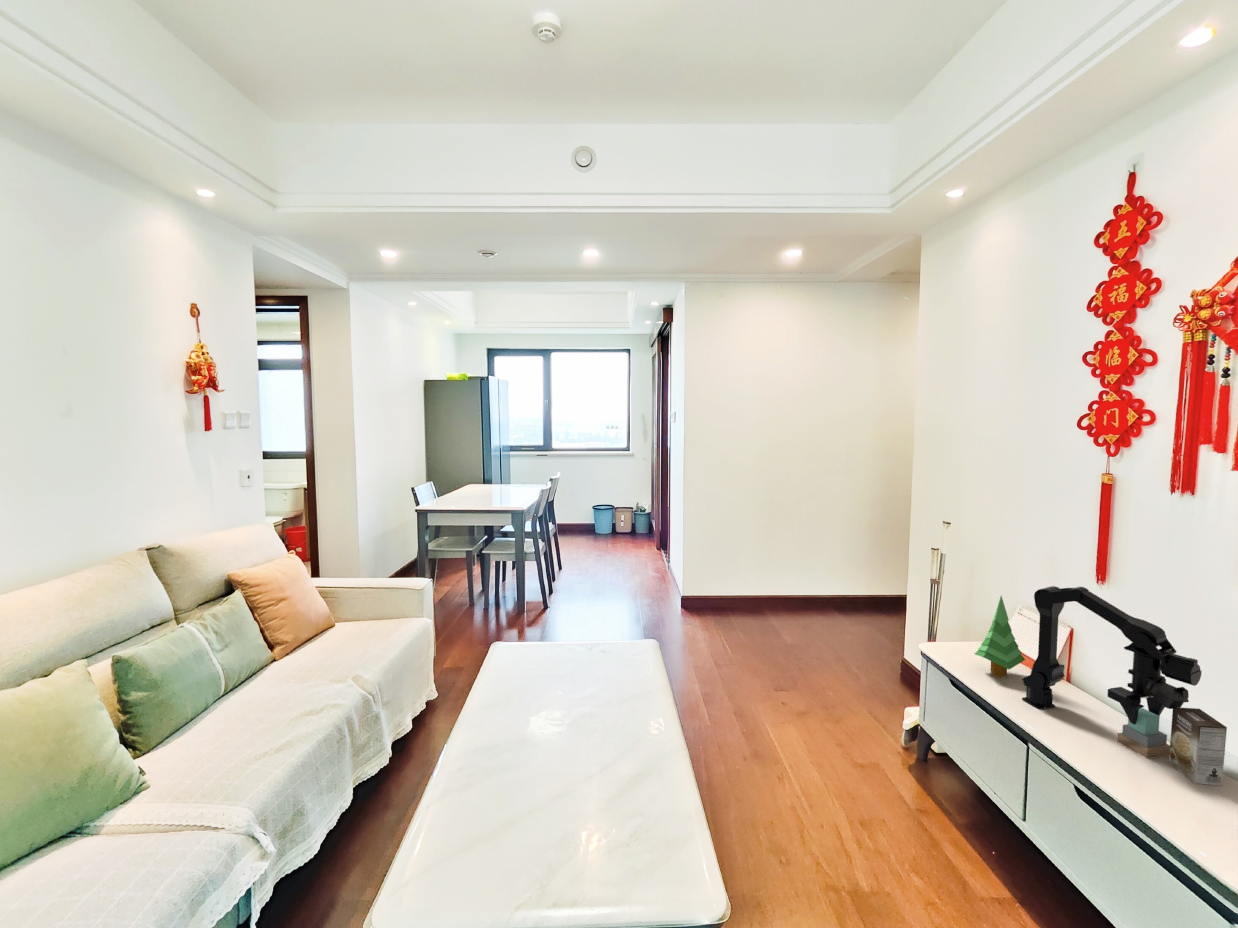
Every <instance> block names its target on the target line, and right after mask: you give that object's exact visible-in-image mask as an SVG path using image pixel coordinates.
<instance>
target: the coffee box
mask: <svg viewBox="0 0 1238 928" xmlns="http://www.w3.org/2000/svg"><path fill="white" fill-rule="evenodd" d="M1170 729H1171V731H1170V744H1169V745H1170V755H1168V758H1169V760H1168V762H1169V763H1170V764H1171V765H1172V766H1174V767H1175V768H1176V769H1177V770H1178V771H1179V772H1180V773H1182V774H1183V775H1184V776H1185V777H1186V778H1188V779H1189V780H1190V781H1191V782H1193V783H1194V784H1196V785H1198V784H1199V785H1210V786H1222V785H1223V777H1224V776H1223V775H1224V766H1225V755H1226V753H1225V752H1226V743H1227V742H1226V741H1227V733H1228V732H1227V731H1228V730H1227V729H1228V727H1227V726H1226V725H1224V724H1222V723H1221V722H1220V721H1218V720H1217V719H1215V718H1214V717H1213V716H1211V715H1209V714H1208V713H1206V712H1205V711H1204V710H1202V709H1201V708H1193V707H1191V708H1190V707H1181V708H1173V709H1172V716H1171V728H1170Z"/></svg>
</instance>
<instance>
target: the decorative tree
mask: <svg viewBox="0 0 1238 928" xmlns="http://www.w3.org/2000/svg"><path fill="white" fill-rule="evenodd" d="M1009 621H1010V619H1009V615H1008V613H1007V610H1006V606H1005V603H1004V600H1003V596H1002V595H1000V597H999V601H998V602H997V606H996V610H995V613H994V615H993V619H992V622H991V625H990V627H989V630H988V631H987V634H986V636H985V637H984V640H983V641H982V643H981V644H980V646H979V647H978V648H977V651H976V652H974V655H975V656H979V657H981V658H983V659H986V660H988V661H990V674H991V675H992V676H994V675H995V676H994V677H999V678H1006V677H1007V676H1008V670H1011V669H1013V668H1014V667H1016V666H1017V665H1019V664H1021V663H1023V662H1024V661H1026V659H1025V657H1024V656H1023V655H1022V654H1023V652H1022V651H1021V650H1020V648H1019V647H1020V646H1019V644H1018V643H1017V642H1016V638H1015V636H1014V635H1013V630H1012V627H1011V626H1010V623H1009Z"/></svg>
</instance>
